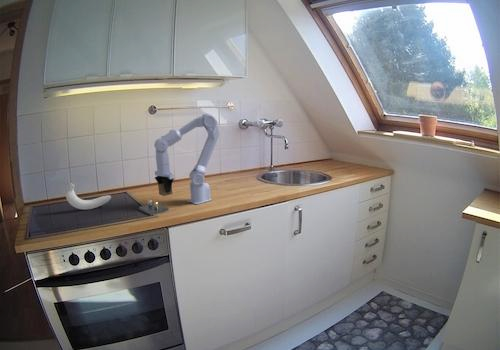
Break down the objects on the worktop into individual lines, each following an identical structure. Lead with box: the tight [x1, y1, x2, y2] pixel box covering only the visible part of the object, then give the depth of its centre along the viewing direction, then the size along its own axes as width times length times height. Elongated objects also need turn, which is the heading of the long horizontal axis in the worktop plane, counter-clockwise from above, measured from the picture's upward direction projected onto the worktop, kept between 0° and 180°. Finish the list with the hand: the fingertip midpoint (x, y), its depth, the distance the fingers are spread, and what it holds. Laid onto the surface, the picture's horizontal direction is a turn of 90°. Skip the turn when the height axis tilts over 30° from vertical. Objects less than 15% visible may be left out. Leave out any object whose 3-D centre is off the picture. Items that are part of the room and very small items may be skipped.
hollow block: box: [157, 183, 173, 197], centre depth 158 cm, size 5×5×5 cm
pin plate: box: [138, 198, 170, 216], centre depth 153 cm, size 9×12×4 cm
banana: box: [65, 182, 112, 211], centre depth 156 cm, size 5×19×15 cm, turn 123°
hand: (165, 191), depth 158 cm, fingers closed on hollow block, 5 cm apart
